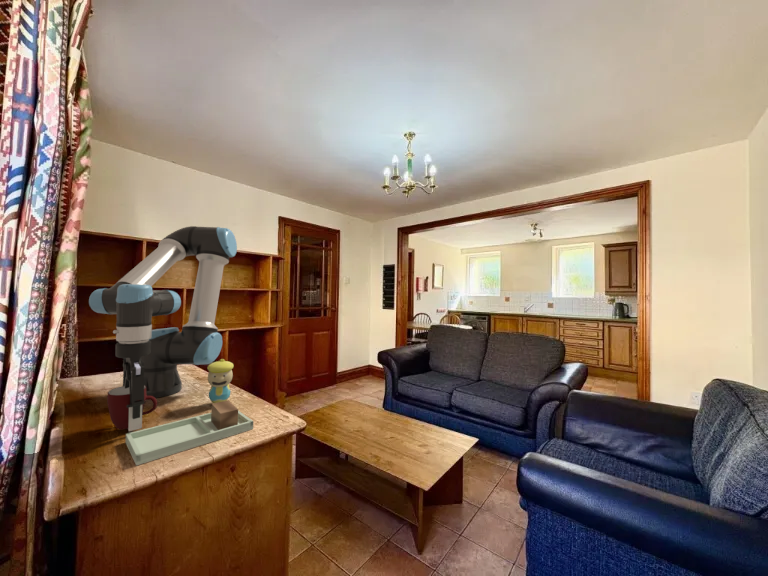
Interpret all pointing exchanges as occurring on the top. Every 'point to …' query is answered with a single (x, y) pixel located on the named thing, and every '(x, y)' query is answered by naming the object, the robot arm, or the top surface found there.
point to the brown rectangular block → (224, 414)
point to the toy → (220, 380)
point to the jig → (179, 436)
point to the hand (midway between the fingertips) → (132, 423)
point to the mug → (124, 406)
